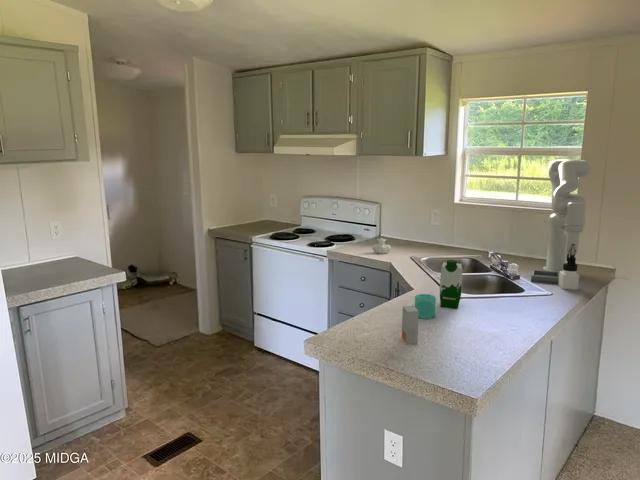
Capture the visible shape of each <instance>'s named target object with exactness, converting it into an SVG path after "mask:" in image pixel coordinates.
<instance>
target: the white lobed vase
mask: <svg viewBox="0 0 640 480" xmlns="http://www.w3.org/2000/svg"><path fill="white" fill-rule="evenodd" d="M376 240H377V242H378V243H377V244H373V245H372V250H373V252H374V253H377V254H379V255H383V254H389V253H390V252H391V249H392V246H391V245H390V244H386V242H387V238H384V237H380V238H377V239H376Z"/></svg>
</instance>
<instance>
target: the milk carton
mask: <svg viewBox="0 0 640 480" xmlns="http://www.w3.org/2000/svg"><path fill="white" fill-rule="evenodd" d="M439 279H440V280H439V303H440V308H446V309H456V310H458V308H459V304H460V300H461V298H462V297H461V296H462V288H463V287H462V285H463V283H462V282H463V266H462V263H458V262H457V260H454V259H449V260H446V261H445V262H443V263H442V265H441V269H440V278H439Z"/></svg>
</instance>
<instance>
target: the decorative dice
mask: <svg viewBox="0 0 640 480" xmlns="http://www.w3.org/2000/svg"><path fill="white" fill-rule="evenodd" d="M436 303H437V301H436V296H434V295H432V294H429V293H419V294H416V295H415V296H414V307H415V308H416V309H417V310H418V319H423V320H431V319H434V318H436V307H437V306H436Z"/></svg>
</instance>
